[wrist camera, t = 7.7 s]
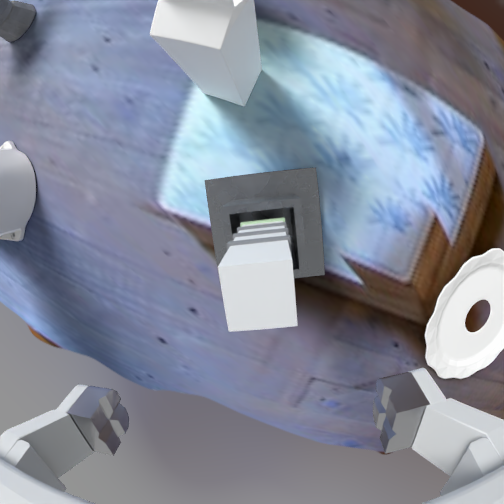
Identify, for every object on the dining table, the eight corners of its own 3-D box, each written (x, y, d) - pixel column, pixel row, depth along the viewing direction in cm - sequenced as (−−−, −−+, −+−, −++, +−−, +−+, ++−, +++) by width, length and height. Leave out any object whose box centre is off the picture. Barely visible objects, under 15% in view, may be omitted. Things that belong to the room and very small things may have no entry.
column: (247, 260, 33) (226, 334, 17) (242, 220, 32) (213, 263, 16) (288, 255, 32) (301, 328, 17) (283, 215, 31) (295, 255, 16)
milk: (244, 107, 35) (212, 33, 14) (202, 93, 35) (130, 20, 14) (262, 68, 34) (251, -32, 12) (220, 55, 33) (172, -42, 12)
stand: (221, 282, 41) (206, 314, 31) (206, 180, 38) (184, 182, 28) (323, 272, 40) (338, 302, 30) (314, 167, 36) (329, 165, 27)
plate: (486, 374, 43) (491, 378, 41) (398, 371, 44) (402, 377, 42) (534, 262, 37) (540, 265, 35) (453, 230, 37) (459, 233, 35)
